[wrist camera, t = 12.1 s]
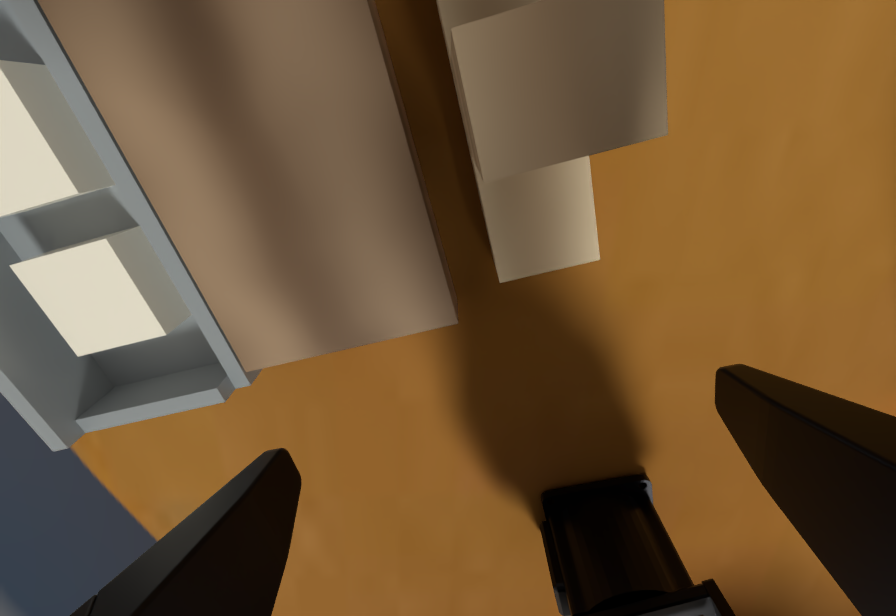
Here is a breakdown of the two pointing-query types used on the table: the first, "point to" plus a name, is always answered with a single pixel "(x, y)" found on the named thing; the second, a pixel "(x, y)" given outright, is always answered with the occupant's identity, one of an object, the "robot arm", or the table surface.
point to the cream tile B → (104, 291)
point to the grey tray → (77, 220)
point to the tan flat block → (272, 163)
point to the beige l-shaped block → (551, 113)
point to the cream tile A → (42, 143)
